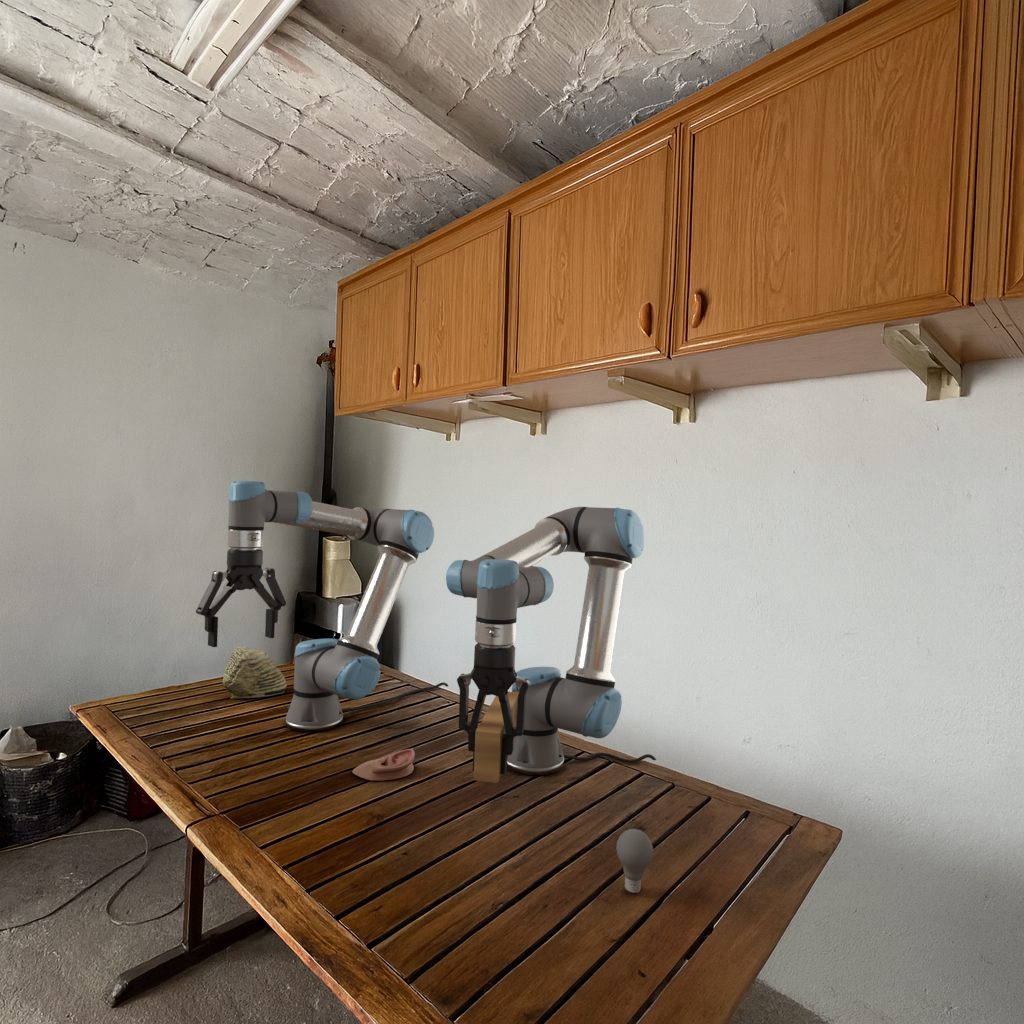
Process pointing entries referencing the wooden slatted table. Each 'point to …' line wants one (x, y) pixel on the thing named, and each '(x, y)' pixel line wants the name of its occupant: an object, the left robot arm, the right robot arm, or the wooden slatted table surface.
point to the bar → (492, 740)
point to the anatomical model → (387, 766)
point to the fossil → (252, 674)
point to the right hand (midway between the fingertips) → (489, 769)
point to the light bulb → (634, 857)
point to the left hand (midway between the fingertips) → (242, 641)
